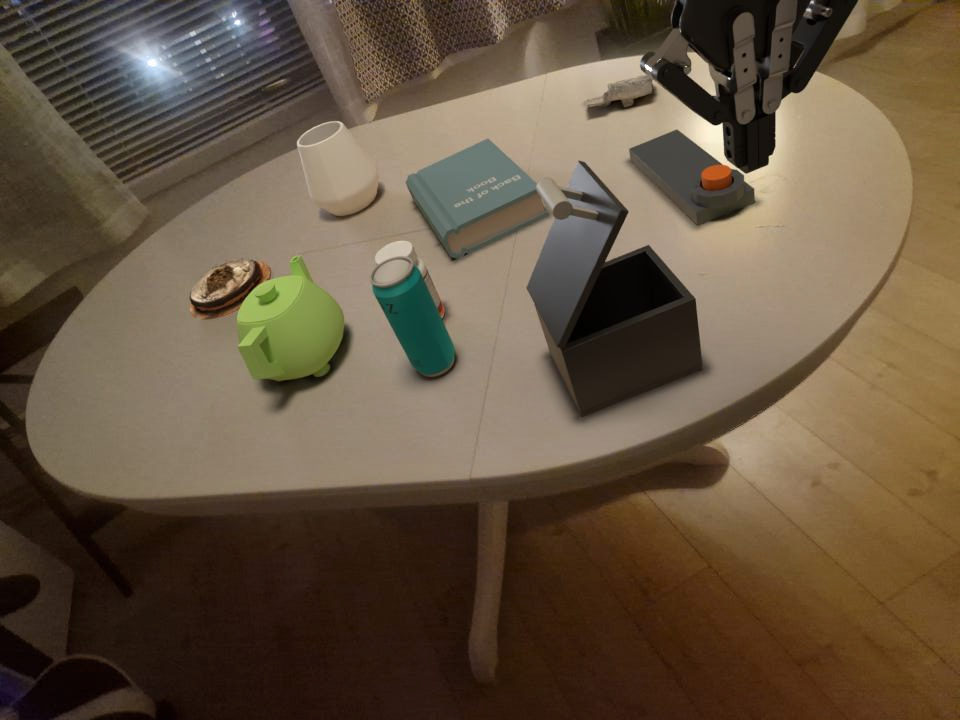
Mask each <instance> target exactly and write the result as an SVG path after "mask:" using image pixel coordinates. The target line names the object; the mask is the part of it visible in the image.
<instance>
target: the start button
mask: <svg viewBox="0 0 960 720" xmlns="http://www.w3.org/2000/svg"><path fill="white" fill-rule="evenodd" d="M731 169H732V168H731V167H730V166H728V165H726V164H723V165H714V166H710V167H708V168H706V169H705V170H704V171H703V172H702V174H701V176H702V187H703V188H704V189H705V190H707V191H718V190H723V189H725V188H728V187H729V186H730V185H731V183H732V174H731Z"/></svg>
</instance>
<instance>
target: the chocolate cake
mask: <svg viewBox="0 0 960 720" xmlns="http://www.w3.org/2000/svg"><path fill="white" fill-rule="evenodd" d="M270 279H271V267H270V266H269V265H268V263H266V262H263V261H260V260H254V259H253V258H249V257H248V258H247V259H245V258H243V257H240V258H239V257H238V258H237V257H236V258H233V259H227V260H225V263H222V264H219V265H218V266H217V263H216V264H215V265H214V266H212V267H211V268H210V269H208V271H206V272H205V273H204V274H202V275H201V276H200V277H199V278H198V279H197V281H196V282H195V284H194V285H193V287H192V289H191V290H190V293H189V297H188V299H189V302H190V305H189V310H190V313H191V315H192V316H193V317H195V318H197V319H198V318H199V320H214V319H217V318H220V317H221V318H222V317H224V316H226V315H228V314H231V313H233V312H235V311H237V310H239V309H240V307H241V305H242V303H243V301H244V300H245V299H246V297H247V296H248V295H249V294H250V293H251V291H252V290H253V289H255V288H256V287H257V286H258V285H260V284H261V283H263V282H265V281H267V280H270Z"/></svg>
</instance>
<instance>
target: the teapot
mask: <svg viewBox="0 0 960 720" xmlns="http://www.w3.org/2000/svg"><path fill="white" fill-rule="evenodd" d="M289 265H290V274H291V275H284V276H278V277H275V278H269V280H267V281H265V282H263V283H261V284H260V285H258V286H257V287H256V288H255V289H253V290H252V291H251V293H250V294H249V295H248V296H247V297H246V299H245V300H244V301H243V303H242V305H241V307H240V308H239V309H238V312H237V316H236V327H237V336H238V341H239V344H238V345H237V349H238V351H239V354H240V355H241V357H242V359H243V361H244V363H245V366H246V368H247V370H248V372H249V374H250V376H251V378H252V380H261V379H262V380H263V379H264V380H265V379H268V380H272V381H276V382H282V381H289V380H297V379H300V378H305V377H308V376H310V375H313V376H314V377H316V378H319V377H323V376H325V375H326V374H327V373H328V372H330V369H331V365H330V363H328V362H330V360H331V359H332V358H333V356H335V354H336V352H337V351H338V349H339V347H340V344H341V342H342V340H343V338H344V330H345V315H344V311H343V309H342V307H341V306H340V304H339V303H338V302H337V300H336V298H334V297H333V296H332V295H331V294H330V293H329V292H327V291H326V290H325V289H324V288H323V287H321V286H320V285H319V284H317V283H315V282H314V279H313V278H312V276H311V272H310V271H309V269H308V267H307V265H306V263H305V261H304V258H303V256H302V255H301V254H299V255H294V256H292V258H291V260H290V261H289Z"/></svg>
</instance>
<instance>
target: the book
mask: <svg viewBox="0 0 960 720" xmlns="http://www.w3.org/2000/svg"><path fill="white" fill-rule="evenodd" d="M537 183H538V182H536V181H535V180H534V179H533V178H532V177H531V176H530V175H529V174H528V173H526V171H524V170H523V169H522V168H521V167H520V166H519V165H517V164H516V162H515V161H514V160H512V158H510V157H509V156H508V155H507V154H506V153H505V152H503V150H502V149H500V147H499V146H497V144H495V143H494V142H493V141H492V140H491V139H489V138H486V139H484V140H482V141H479V142H477V143H474V144H473V145H470V146H468V147H466V148H465V149H461V150H460V151H458V152H455V153H453V154H451V155H449V156H447V157H445V158H443V159H440V160H438V161H436V162H433V163H432V164H429V165H427V166H426V167H424V168H422V169H419V170H417V172H416V173H414V172H413V173H410V174H409V175H408V176H407V178H406V180H405V185H406V187H407V190H408V192H409V194H410V197H411V199H412V201H413V202H414V203H415V205H416V206H417V208H418V209H419V211H420V212H421V214H422V216H423V217H424V219H425V220H426V222H427V223H428V225H429V227H430V228H431V230H432V231H433V232H434V234H435V235H436V237H437V239H438V240H439V242H440V243H441V245H442V246H443V248H444V250H445V251H446V253H447V254H448V256H449V257H450V258H453V259H457V260H459V259H461V258H463V257H465V254H471V253H473V252H475V251H478V250H479V249H481V248H483V247H484V248H485V247H486V246H488V245H490V244H492V243H495V242H497V241H498V240H500V239H504V238H505V237H507V236H509V235H511V234H514V233H515V232H518V231H520V230H521V229H523V228H525V227H527V226H530V225H532V224H534V223H536V222H538V221H540V220H542V219H545V218H546V217H548V216H549V212H548V211H547V210H546V209H545V208H544V203H543V200H542V198H541V197H540V196H539V194H538V193H537V190H536V186H537Z"/></svg>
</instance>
